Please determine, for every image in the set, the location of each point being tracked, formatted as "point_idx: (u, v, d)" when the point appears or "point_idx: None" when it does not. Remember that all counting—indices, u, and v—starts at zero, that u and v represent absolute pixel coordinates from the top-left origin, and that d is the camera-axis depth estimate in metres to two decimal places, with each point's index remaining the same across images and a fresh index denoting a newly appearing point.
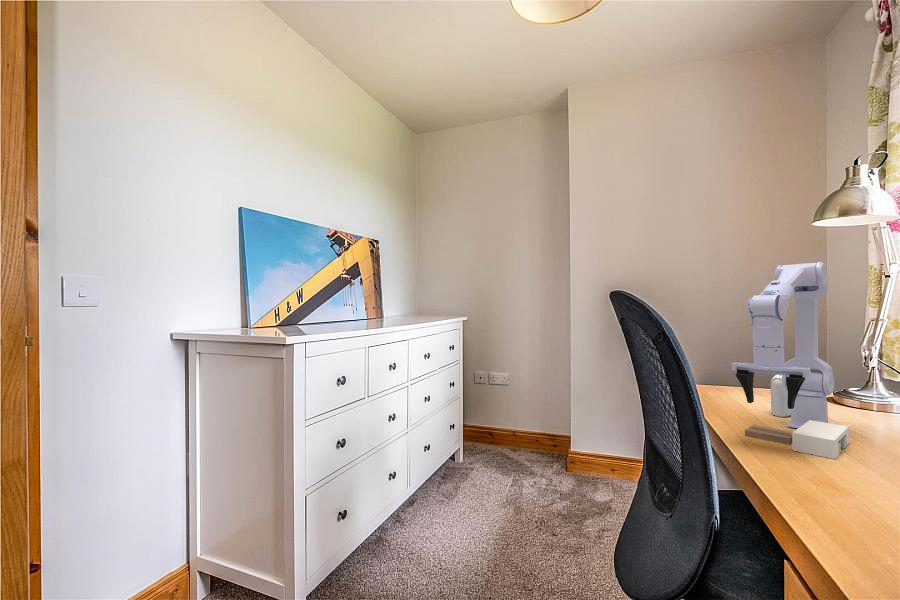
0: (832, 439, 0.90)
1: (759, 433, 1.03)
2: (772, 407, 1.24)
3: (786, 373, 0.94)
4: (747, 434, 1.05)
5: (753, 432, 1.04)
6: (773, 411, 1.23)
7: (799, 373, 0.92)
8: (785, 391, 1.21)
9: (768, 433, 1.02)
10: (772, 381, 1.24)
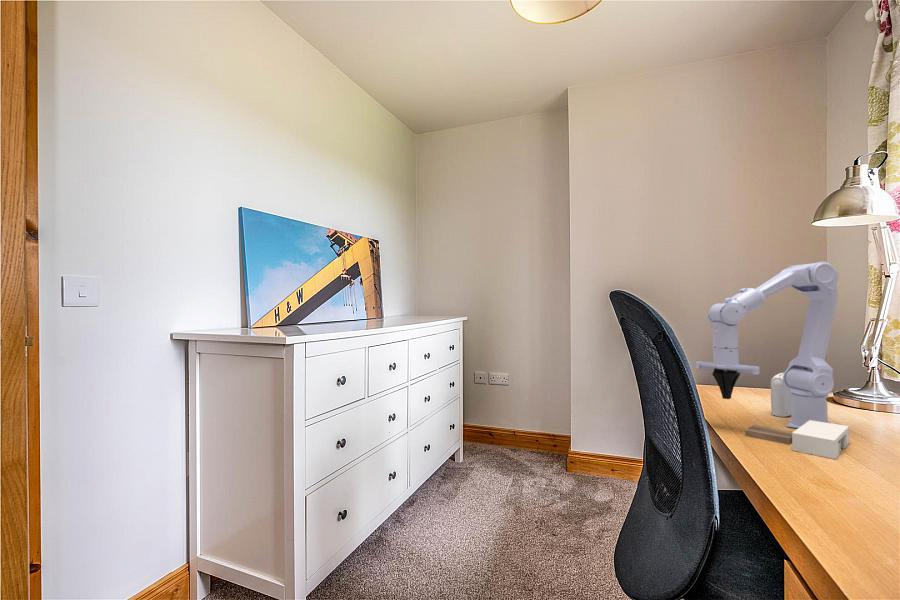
0: (832, 439, 0.90)
1: (759, 433, 1.03)
2: (772, 407, 1.24)
3: (739, 371, 1.09)
4: (747, 434, 1.05)
5: (753, 432, 1.04)
6: (773, 411, 1.23)
7: (750, 371, 1.07)
8: (785, 391, 1.21)
9: (768, 433, 1.02)
10: (772, 381, 1.24)
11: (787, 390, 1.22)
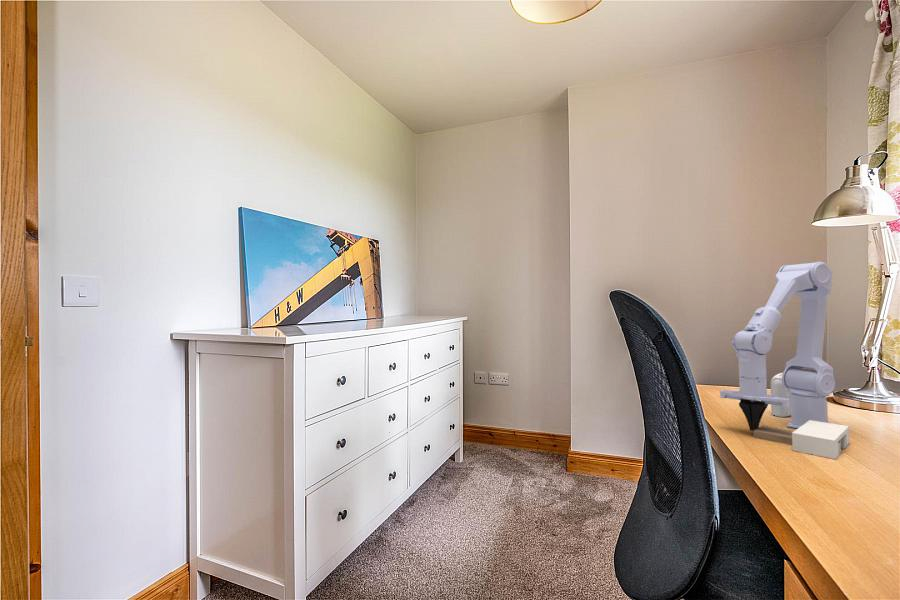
0: (832, 439, 0.90)
1: (768, 434, 1.02)
2: (772, 407, 1.24)
3: (768, 402, 1.04)
4: (756, 435, 1.04)
5: (762, 433, 1.03)
6: (773, 411, 1.23)
7: (779, 402, 1.02)
8: (785, 391, 1.21)
9: (777, 434, 1.01)
10: (772, 381, 1.24)
11: (787, 390, 1.22)
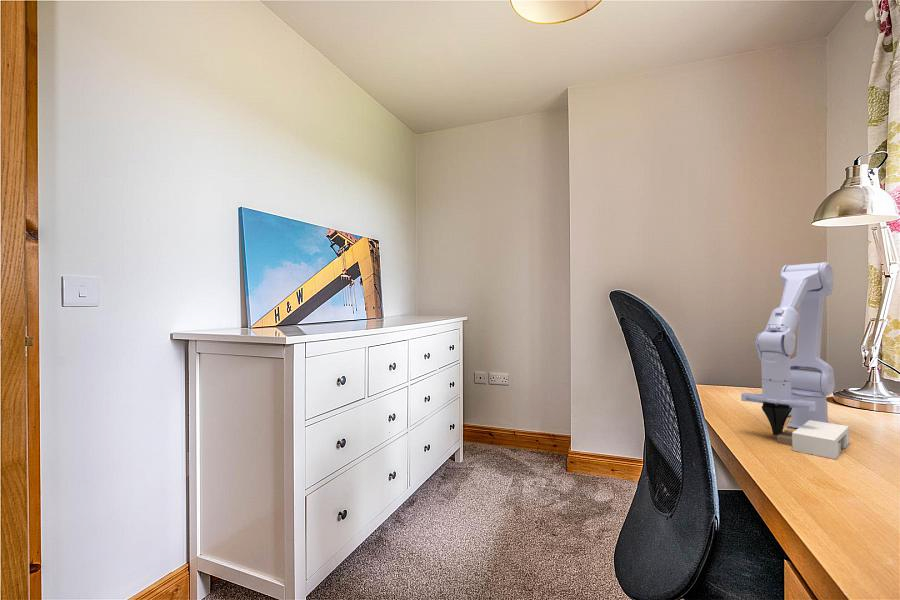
0: (832, 439, 0.90)
1: None
2: None
3: (793, 405, 1.00)
4: (779, 440, 1.00)
5: (786, 438, 0.99)
6: None
7: (805, 406, 0.99)
8: None
9: None
10: None
11: None
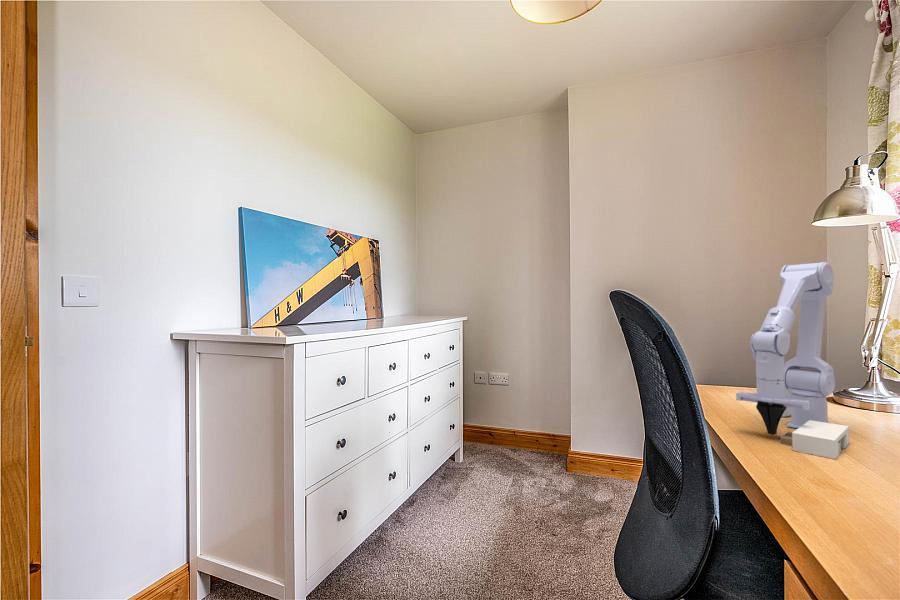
0: (832, 439, 0.90)
1: None
2: None
3: (787, 405, 1.01)
4: (782, 442, 0.99)
5: (789, 440, 0.98)
6: None
7: (799, 405, 1.00)
8: (785, 391, 1.21)
9: None
10: None
11: (787, 390, 1.22)
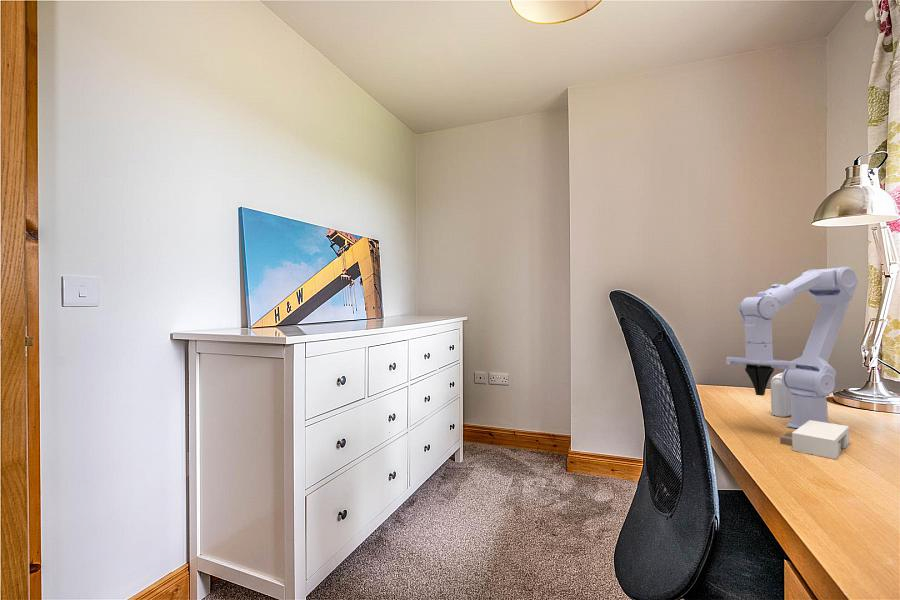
0: (832, 439, 0.90)
1: None
2: (772, 407, 1.24)
3: (774, 366, 1.06)
4: (782, 442, 0.99)
5: (789, 440, 0.98)
6: (773, 411, 1.23)
7: (785, 366, 1.04)
8: (785, 391, 1.21)
9: None
10: (772, 381, 1.24)
11: (787, 390, 1.22)
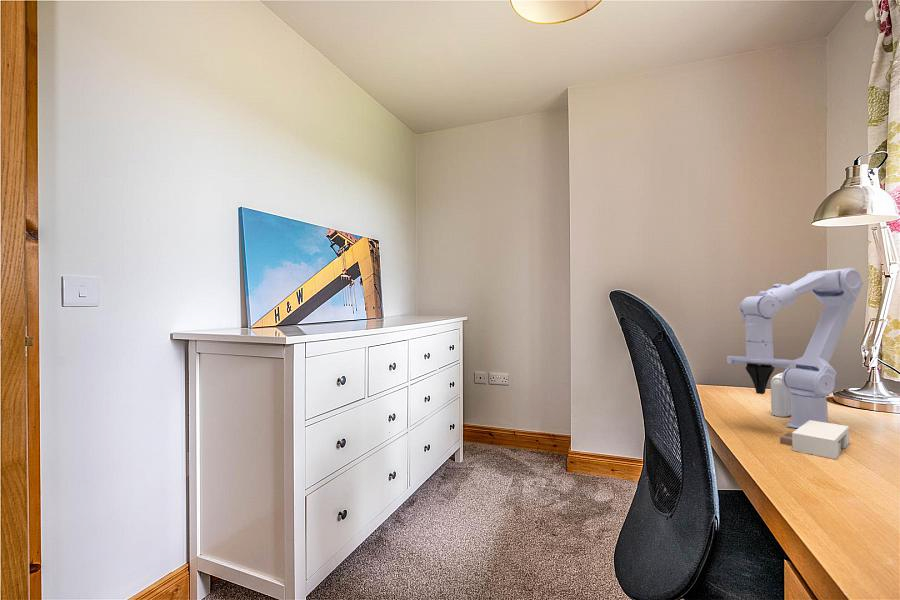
0: (832, 439, 0.90)
1: None
2: (772, 407, 1.24)
3: (774, 365, 1.06)
4: (782, 442, 0.99)
5: (789, 440, 0.98)
6: (773, 411, 1.23)
7: (786, 365, 1.05)
8: (785, 391, 1.21)
9: None
10: (772, 381, 1.24)
11: (787, 390, 1.22)
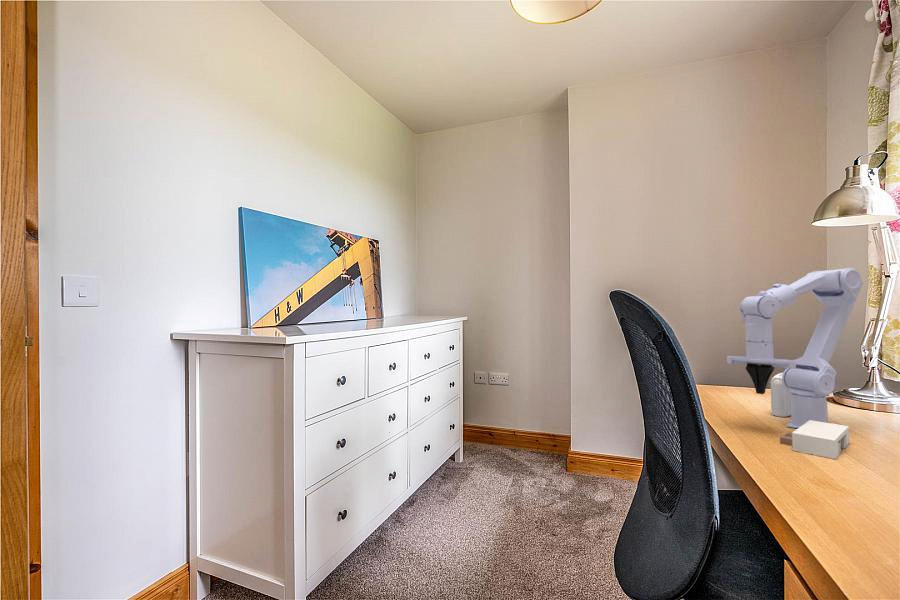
0: (832, 439, 0.90)
1: None
2: (772, 407, 1.24)
3: (774, 365, 1.06)
4: (782, 442, 0.99)
5: (789, 440, 0.98)
6: (773, 411, 1.23)
7: (786, 365, 1.05)
8: (785, 391, 1.21)
9: None
10: (772, 381, 1.24)
11: (787, 390, 1.22)
